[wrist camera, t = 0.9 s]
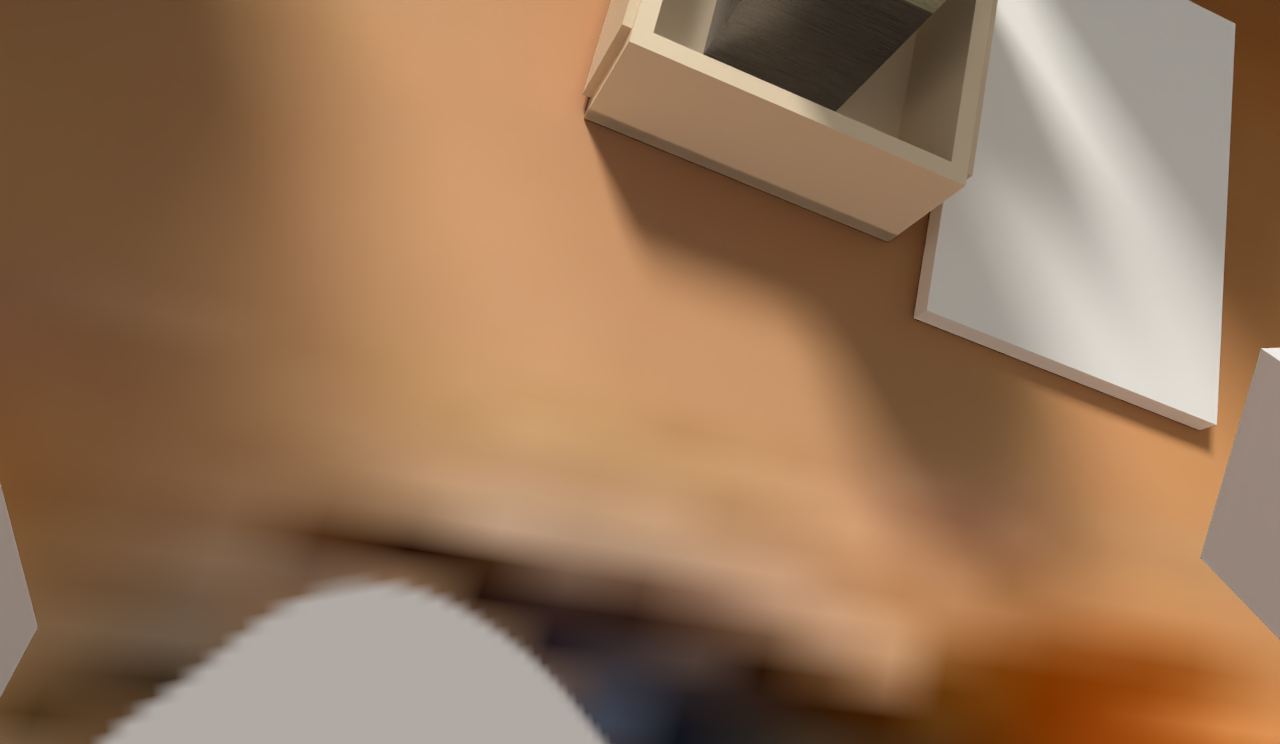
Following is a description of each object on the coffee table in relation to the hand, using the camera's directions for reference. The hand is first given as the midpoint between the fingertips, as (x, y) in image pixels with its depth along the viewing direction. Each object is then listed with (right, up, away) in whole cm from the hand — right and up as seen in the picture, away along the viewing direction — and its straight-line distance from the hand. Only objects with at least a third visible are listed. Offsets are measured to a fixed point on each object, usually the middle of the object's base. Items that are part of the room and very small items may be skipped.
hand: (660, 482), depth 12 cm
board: (+17, +9, +31) cm, 36 cm away
